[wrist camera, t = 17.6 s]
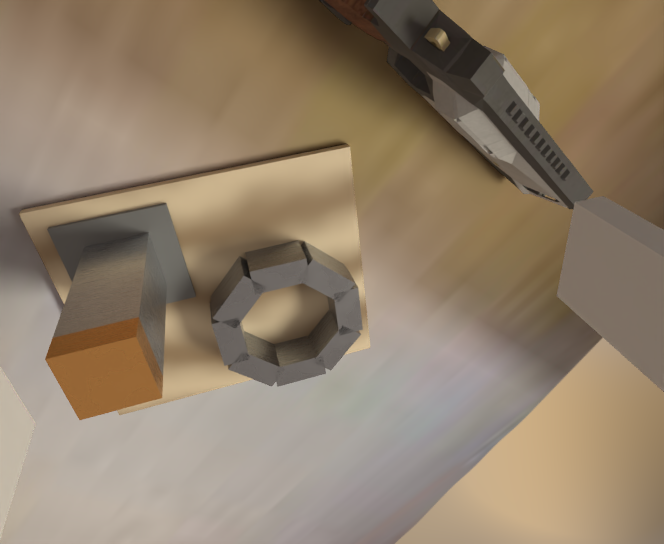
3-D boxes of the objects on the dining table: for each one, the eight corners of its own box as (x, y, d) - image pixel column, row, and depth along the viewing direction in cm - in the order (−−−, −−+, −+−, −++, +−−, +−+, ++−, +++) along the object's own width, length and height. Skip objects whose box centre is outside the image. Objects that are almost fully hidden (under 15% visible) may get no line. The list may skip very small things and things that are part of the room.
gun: (464, 155, 53) (575, 233, 43) (270, -23, 34) (389, 42, 24) (496, 116, 52) (618, 187, 42) (313, -94, 32) (459, -55, 22)
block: (107, 297, 42) (79, 420, 31) (84, 246, 40) (45, 359, 28) (167, 283, 43) (162, 398, 32) (148, 232, 41) (136, 336, 29)
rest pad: (48, 227, 39) (47, 229, 38) (166, 202, 40) (166, 204, 40) (91, 319, 44) (91, 321, 43) (195, 294, 45) (196, 296, 45)
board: (21, 209, 38) (18, 214, 38) (347, 144, 42) (349, 146, 42) (120, 409, 50) (119, 415, 49) (367, 343, 54) (370, 347, 53)
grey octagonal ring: (197, 263, 43) (198, 284, 40) (342, 229, 45) (353, 247, 42) (231, 373, 50) (234, 398, 47) (356, 340, 52) (366, 362, 49)
